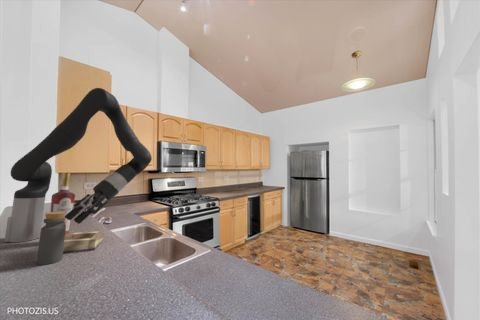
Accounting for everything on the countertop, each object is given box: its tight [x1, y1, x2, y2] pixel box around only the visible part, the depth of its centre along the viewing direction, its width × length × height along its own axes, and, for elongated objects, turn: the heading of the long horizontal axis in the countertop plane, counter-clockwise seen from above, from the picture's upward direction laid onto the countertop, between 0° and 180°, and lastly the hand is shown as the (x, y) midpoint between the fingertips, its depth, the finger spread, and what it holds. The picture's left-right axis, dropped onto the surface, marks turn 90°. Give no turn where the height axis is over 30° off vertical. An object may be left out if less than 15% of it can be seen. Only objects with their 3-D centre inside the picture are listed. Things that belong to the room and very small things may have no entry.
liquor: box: [50, 172, 76, 235], centre depth 81 cm, size 7×7×28 cm
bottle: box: [36, 211, 66, 266], centre depth 62 cm, size 6×6×15 cm
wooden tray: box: [63, 230, 105, 254], centre depth 75 cm, size 12×12×4 cm
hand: (71, 220), depth 66 cm, fingers open, 8 cm apart
